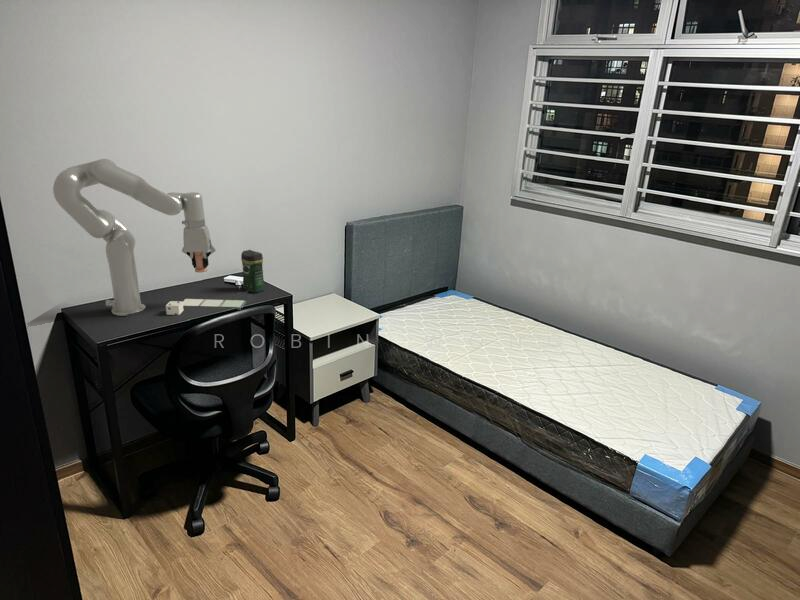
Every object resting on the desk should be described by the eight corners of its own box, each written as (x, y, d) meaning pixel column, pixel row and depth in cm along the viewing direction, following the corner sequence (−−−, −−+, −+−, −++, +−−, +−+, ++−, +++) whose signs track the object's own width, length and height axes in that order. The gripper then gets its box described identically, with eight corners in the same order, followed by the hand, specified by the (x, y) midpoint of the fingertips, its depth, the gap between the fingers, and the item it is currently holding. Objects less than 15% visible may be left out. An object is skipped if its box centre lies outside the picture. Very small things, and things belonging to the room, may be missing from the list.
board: (177, 308, 234) (177, 305, 233) (184, 300, 242) (184, 298, 242) (240, 309, 234) (240, 307, 234) (246, 302, 243) (245, 300, 242)
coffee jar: (267, 290, 258) (265, 251, 252) (253, 294, 252) (251, 254, 246) (254, 285, 264) (252, 247, 258) (240, 289, 258) (237, 250, 252)
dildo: (193, 272, 231) (190, 247, 227) (197, 269, 235) (194, 244, 232) (205, 272, 231) (202, 247, 227) (208, 269, 235) (205, 244, 232)
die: (166, 317, 224) (165, 304, 222) (171, 312, 229) (170, 300, 227) (179, 317, 224) (177, 305, 222) (183, 312, 229) (182, 300, 227)
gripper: (171, 225, 222) (177, 269, 229) (213, 225, 223) (218, 269, 229) (177, 221, 229) (183, 264, 236) (218, 221, 230) (223, 264, 236)
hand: (200, 266), depth 232 cm, fingers closed on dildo, 3 cm apart
